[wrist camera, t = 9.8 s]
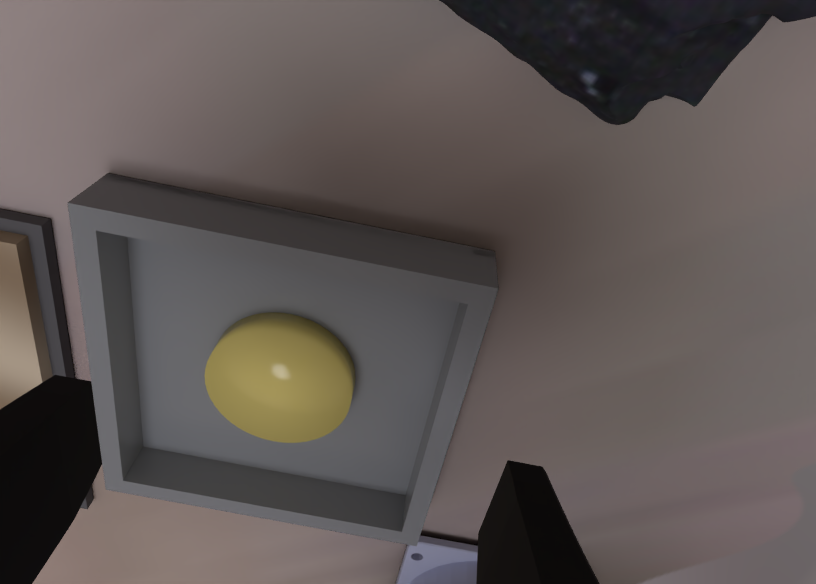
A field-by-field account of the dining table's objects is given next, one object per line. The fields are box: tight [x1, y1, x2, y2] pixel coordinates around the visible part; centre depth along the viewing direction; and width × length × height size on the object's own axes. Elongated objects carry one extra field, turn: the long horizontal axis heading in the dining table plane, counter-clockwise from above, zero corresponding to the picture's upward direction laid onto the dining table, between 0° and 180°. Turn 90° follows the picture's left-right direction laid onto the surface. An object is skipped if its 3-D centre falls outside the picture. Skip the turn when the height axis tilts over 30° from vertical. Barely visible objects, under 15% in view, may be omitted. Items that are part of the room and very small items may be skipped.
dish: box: [68, 173, 499, 546], centre depth 21 cm, size 12×12×2 cm
